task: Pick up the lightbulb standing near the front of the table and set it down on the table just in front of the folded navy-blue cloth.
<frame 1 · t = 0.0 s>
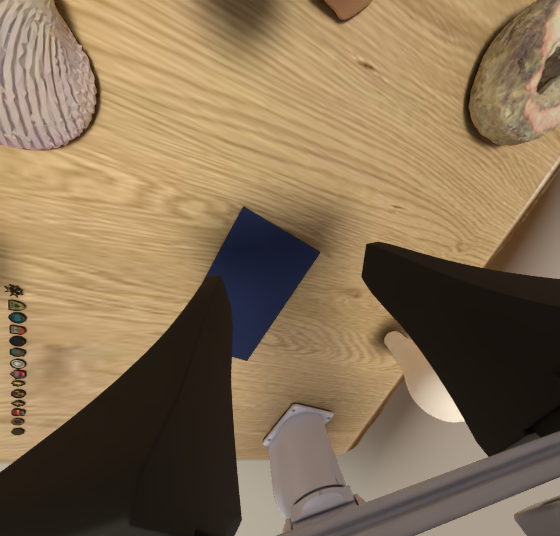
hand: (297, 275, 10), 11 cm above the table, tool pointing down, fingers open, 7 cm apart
lightbulb: (387, 333, 28), on the table
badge: (28, 372, 20), on the table
cloth: (245, 295, 22), on the table
seashell: (4, 58, 12), on the table
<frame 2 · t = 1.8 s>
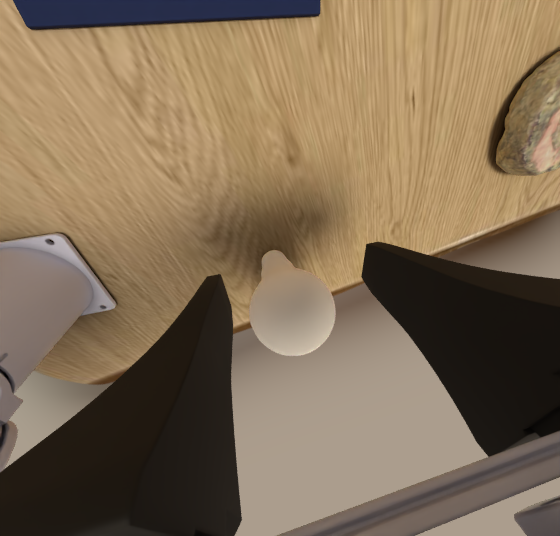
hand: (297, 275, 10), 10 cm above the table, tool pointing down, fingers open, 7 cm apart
lightbulb: (271, 256, 21), on the table
stone ring: (537, 175, 21), point 2 cm above the table
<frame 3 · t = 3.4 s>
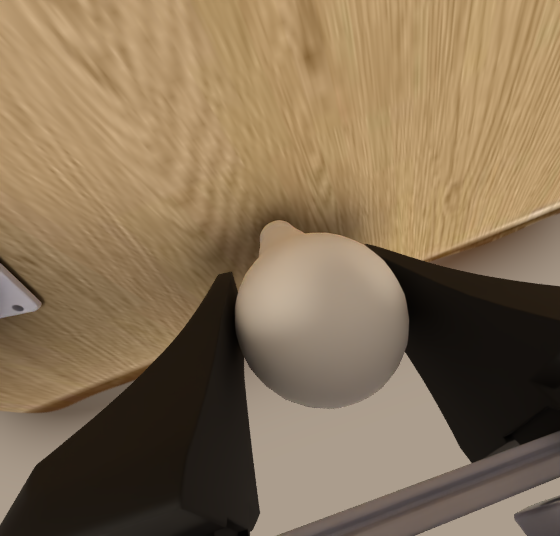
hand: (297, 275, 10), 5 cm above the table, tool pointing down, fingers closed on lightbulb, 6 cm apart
lightbulb: (275, 232, 14), on the table, touching gripper
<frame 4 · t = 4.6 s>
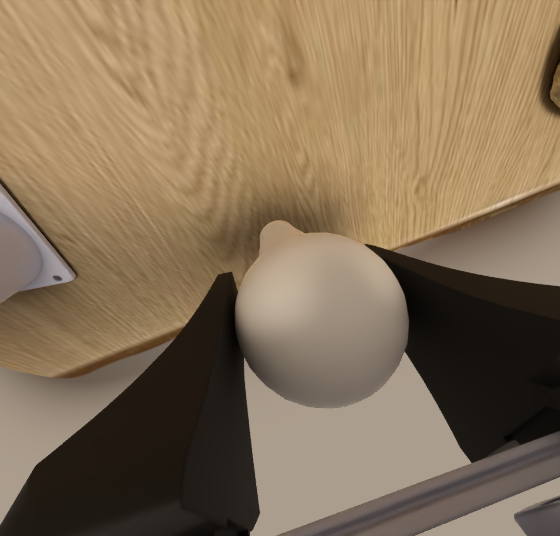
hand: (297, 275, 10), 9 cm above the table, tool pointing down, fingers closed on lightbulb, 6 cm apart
lightbulb: (275, 232, 14), point 3 cm above the table, touching gripper
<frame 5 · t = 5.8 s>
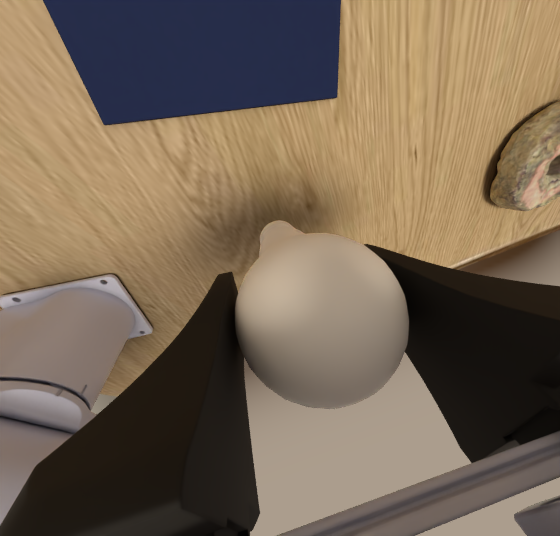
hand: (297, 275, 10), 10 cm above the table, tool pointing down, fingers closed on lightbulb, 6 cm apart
lightbulb: (275, 232, 14), point 5 cm above the table, touching gripper
stone ring: (528, 209, 23), point 2 cm above the table
cloth: (208, 12, 12), on the table
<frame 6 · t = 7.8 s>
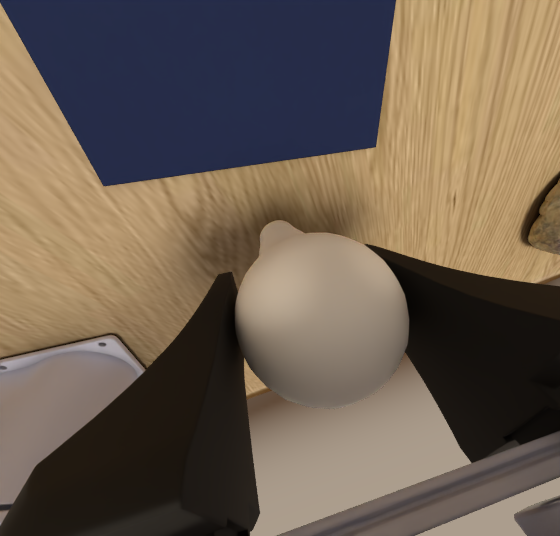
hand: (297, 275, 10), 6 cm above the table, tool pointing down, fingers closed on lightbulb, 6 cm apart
lightbulb: (275, 232, 14), on the table, touching gripper
cloth: (232, 58, 9), on the table
when the fingers open (5 cm above the table, at t = 8.5 s): lightbulb stays where it is, on the table.
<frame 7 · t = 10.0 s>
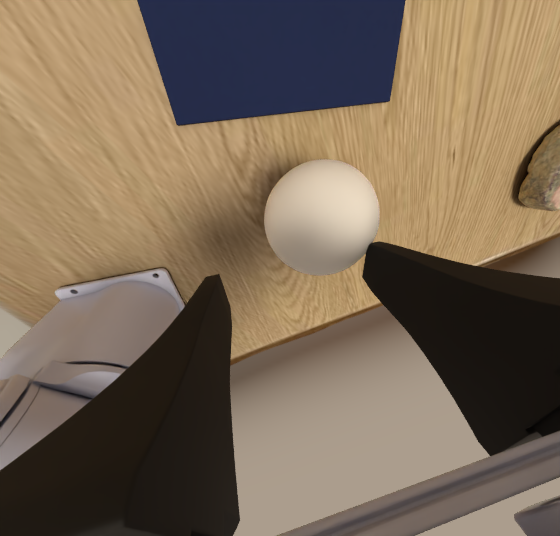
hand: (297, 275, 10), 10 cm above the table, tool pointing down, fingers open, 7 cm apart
lightbulb: (304, 176, 17), on the table, touching gripper
stone ring: (554, 209, 24), point 2 cm above the table
cloth: (283, 21, 12), on the table
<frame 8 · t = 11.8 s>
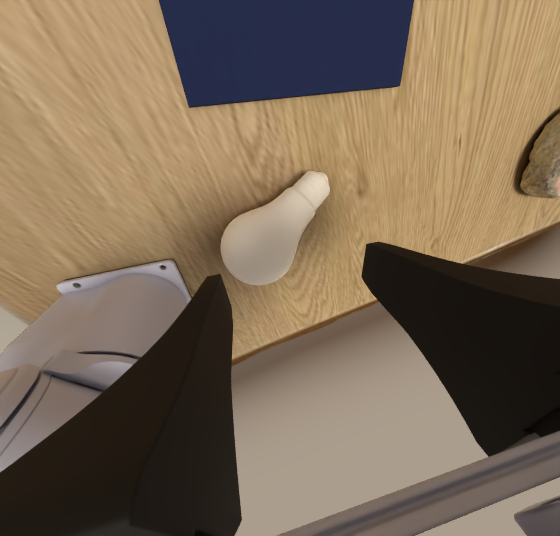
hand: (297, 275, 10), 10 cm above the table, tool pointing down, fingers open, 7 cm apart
lightbulb: (326, 173, 16), point 2 cm above the table
stone ring: (555, 197, 24), point 2 cm above the table
cloth: (297, 0, 12), on the table
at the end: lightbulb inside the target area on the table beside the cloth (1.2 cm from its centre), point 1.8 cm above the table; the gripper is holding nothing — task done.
